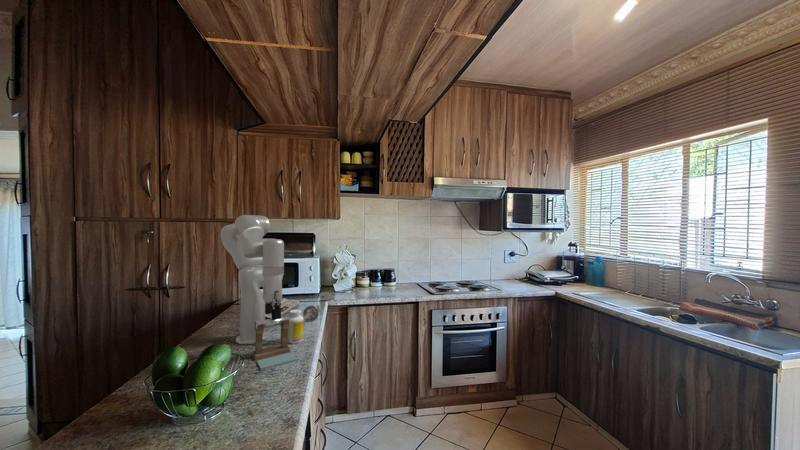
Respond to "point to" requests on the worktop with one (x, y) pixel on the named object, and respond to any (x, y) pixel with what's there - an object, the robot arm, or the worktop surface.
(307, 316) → the spaceship
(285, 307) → the newspaper
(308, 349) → the worktop surface
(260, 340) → the walnut rack
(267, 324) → the steel rail
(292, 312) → the supplement bottle
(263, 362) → the rubber mat
